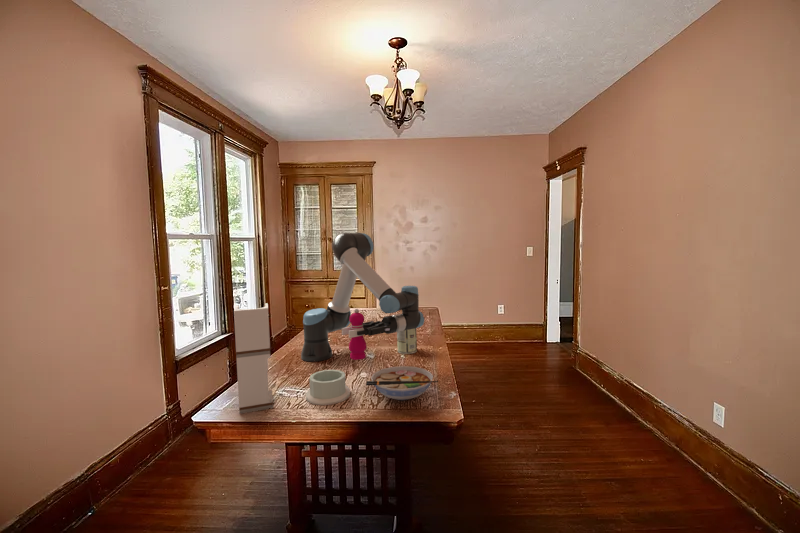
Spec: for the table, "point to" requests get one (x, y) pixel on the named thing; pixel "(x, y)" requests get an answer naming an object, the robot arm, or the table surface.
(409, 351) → the coffee can
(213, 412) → the table surface
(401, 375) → the ramen bowl
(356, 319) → the pepper mill
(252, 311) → the spiral stair tower
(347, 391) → the well
